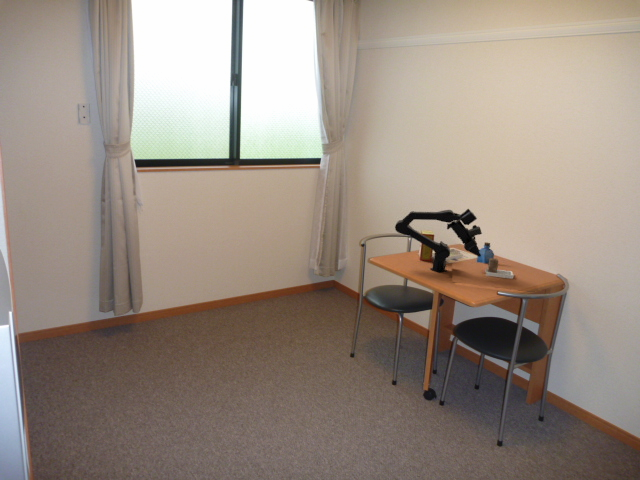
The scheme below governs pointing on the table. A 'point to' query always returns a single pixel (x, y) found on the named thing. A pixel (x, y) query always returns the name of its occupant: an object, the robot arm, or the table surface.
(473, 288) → the table surface
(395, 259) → the table surface
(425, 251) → the baking soda box
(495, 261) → the block
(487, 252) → the perfume bottle
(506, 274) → the trap track
